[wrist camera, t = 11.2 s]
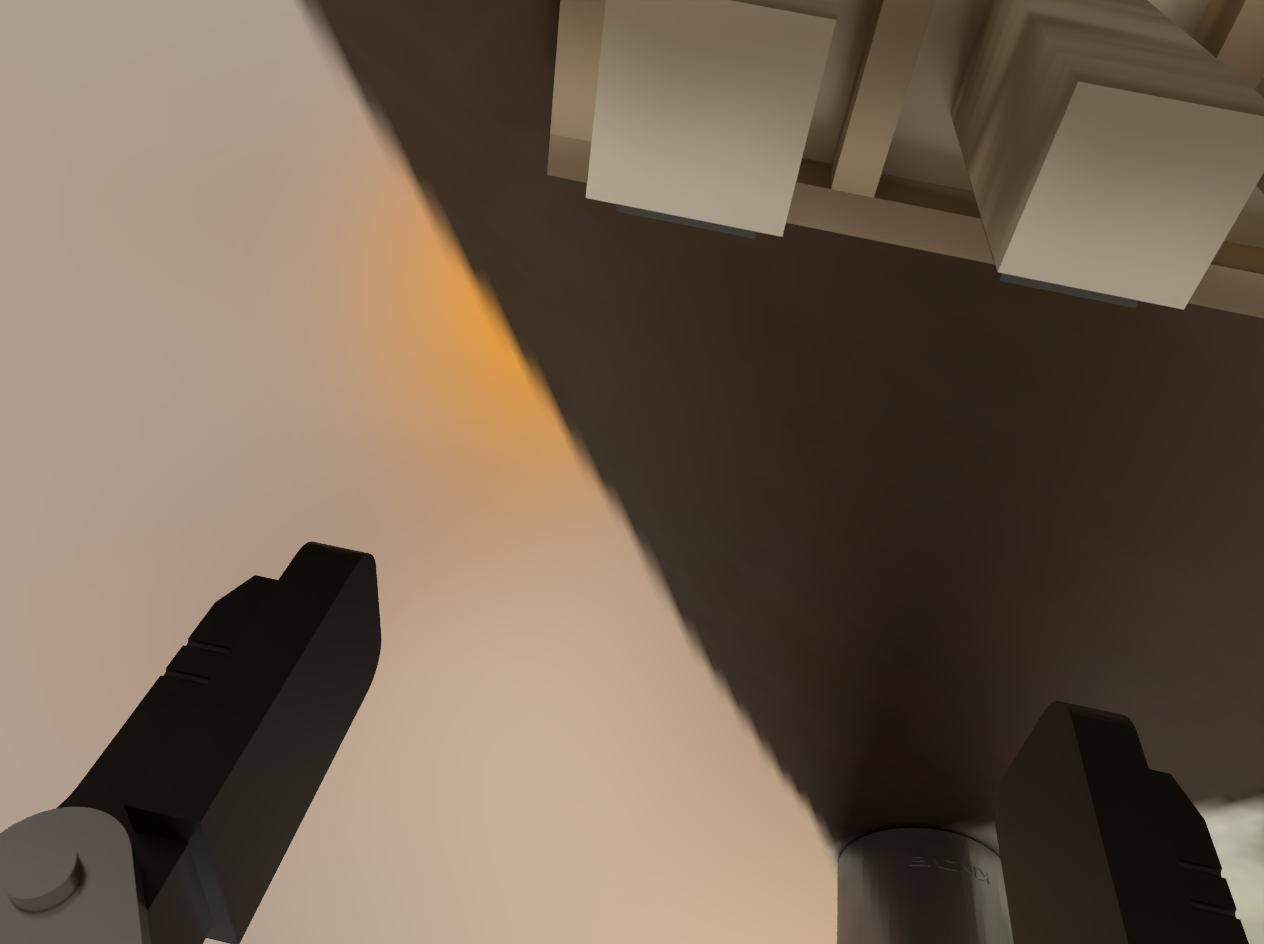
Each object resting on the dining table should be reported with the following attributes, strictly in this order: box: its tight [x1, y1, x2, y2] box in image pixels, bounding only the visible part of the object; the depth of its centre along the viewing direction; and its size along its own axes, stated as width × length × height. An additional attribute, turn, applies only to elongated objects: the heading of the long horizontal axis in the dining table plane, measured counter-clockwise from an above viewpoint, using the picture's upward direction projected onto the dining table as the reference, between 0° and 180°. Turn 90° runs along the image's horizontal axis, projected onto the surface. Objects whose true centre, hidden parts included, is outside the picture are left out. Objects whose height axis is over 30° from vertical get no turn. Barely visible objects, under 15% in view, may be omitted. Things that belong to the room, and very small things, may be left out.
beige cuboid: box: [586, 0, 837, 239], centre depth 21 cm, size 5×4×10 cm
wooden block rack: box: [547, 0, 1264, 318], centre depth 22 cm, size 9×25×12 cm, turn 82°
